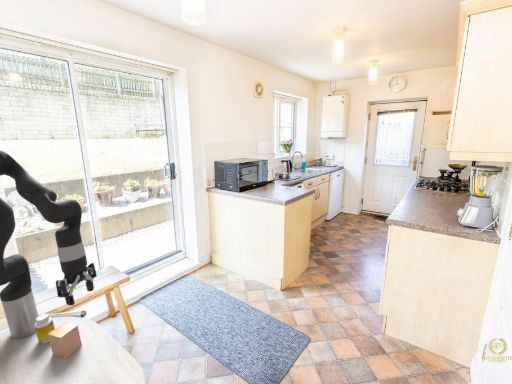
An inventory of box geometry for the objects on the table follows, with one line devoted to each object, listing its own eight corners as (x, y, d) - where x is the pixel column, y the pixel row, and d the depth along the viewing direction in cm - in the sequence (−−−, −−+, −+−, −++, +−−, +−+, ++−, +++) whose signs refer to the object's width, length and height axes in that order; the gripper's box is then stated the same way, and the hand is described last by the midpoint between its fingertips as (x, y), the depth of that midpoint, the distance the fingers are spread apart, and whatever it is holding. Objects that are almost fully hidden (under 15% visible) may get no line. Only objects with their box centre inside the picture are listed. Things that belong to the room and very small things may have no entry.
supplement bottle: (56, 339, 102) (51, 317, 99) (38, 346, 98) (32, 324, 96) (56, 331, 106) (51, 310, 103) (38, 338, 102) (33, 316, 100)
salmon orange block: (52, 354, 95) (47, 334, 93) (69, 341, 101) (65, 321, 99) (65, 358, 93) (60, 337, 91) (81, 344, 99) (77, 325, 97)
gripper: (79, 247, 97) (87, 286, 100) (44, 265, 83) (54, 309, 86) (97, 247, 96) (104, 287, 99) (63, 265, 82) (73, 310, 85)
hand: (81, 297), depth 92 cm, fingers open, 8 cm apart
